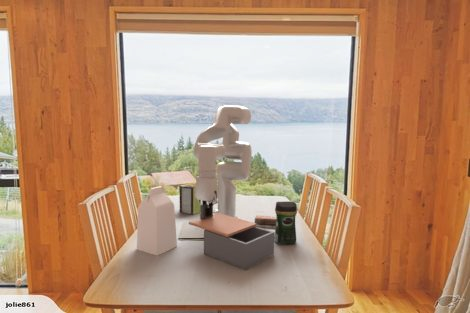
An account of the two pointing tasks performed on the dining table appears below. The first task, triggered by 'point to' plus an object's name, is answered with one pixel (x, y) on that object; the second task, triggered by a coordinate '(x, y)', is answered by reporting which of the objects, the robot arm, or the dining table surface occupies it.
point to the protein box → (189, 199)
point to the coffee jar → (285, 223)
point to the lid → (221, 223)
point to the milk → (156, 223)
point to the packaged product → (265, 222)
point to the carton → (240, 247)
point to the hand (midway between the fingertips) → (206, 215)
